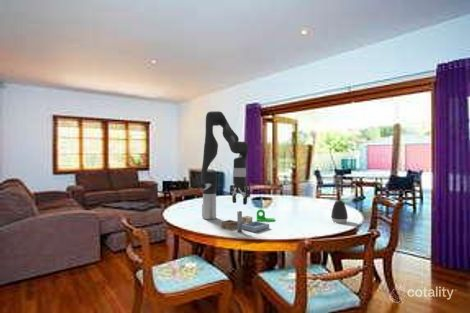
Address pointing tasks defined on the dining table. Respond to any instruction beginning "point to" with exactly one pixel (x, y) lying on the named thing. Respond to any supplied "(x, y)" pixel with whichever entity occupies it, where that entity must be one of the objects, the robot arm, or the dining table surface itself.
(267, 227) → the tray
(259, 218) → the mechanical part
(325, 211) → the dining table surface
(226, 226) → the wooden square socket
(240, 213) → the rod
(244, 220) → the block
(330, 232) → the dining table surface
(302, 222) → the dining table surface
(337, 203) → the dark grey domed speaker
